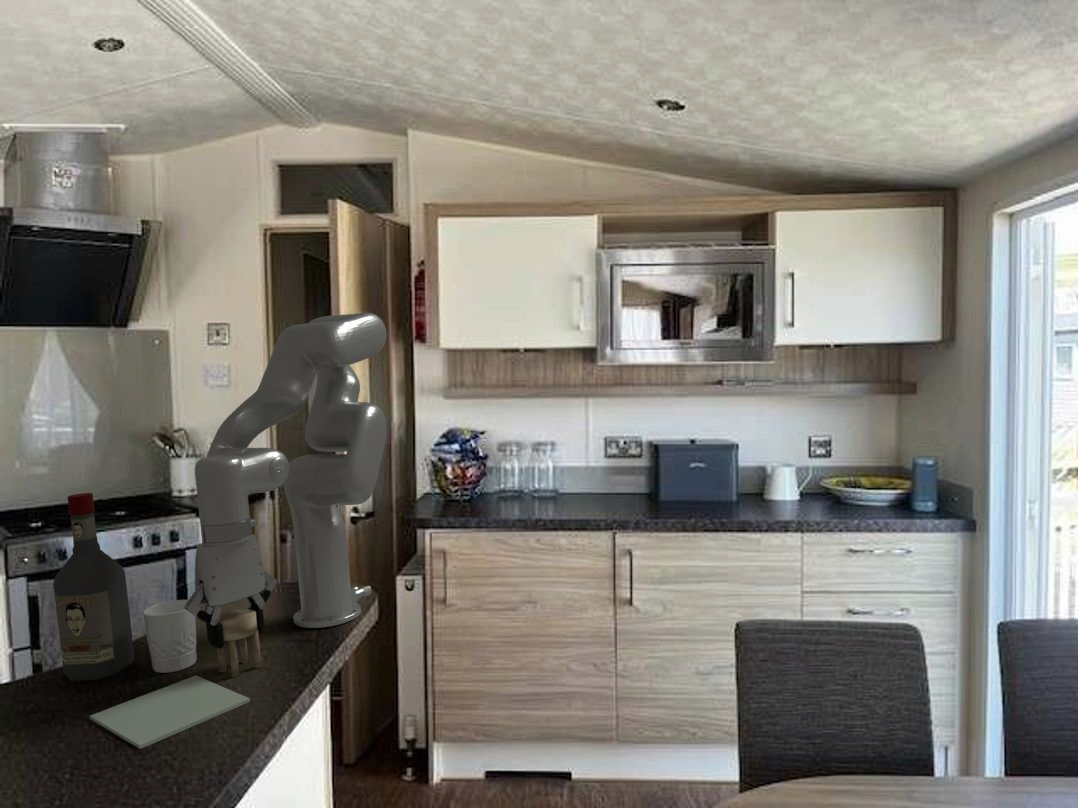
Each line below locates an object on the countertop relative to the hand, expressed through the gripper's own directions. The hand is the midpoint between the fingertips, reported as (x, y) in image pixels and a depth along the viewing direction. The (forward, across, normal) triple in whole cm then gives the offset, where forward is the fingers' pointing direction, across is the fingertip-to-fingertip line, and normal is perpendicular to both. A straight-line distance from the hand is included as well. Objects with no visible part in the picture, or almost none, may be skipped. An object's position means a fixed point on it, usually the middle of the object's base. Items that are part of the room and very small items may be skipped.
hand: (237, 638), depth 130 cm
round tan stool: (+5, 0, 0) cm, 5 cm away
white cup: (+5, +5, -12) cm, 14 cm away
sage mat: (+5, +14, +5) cm, 16 cm away
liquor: (+5, +13, -22) cm, 26 cm away
